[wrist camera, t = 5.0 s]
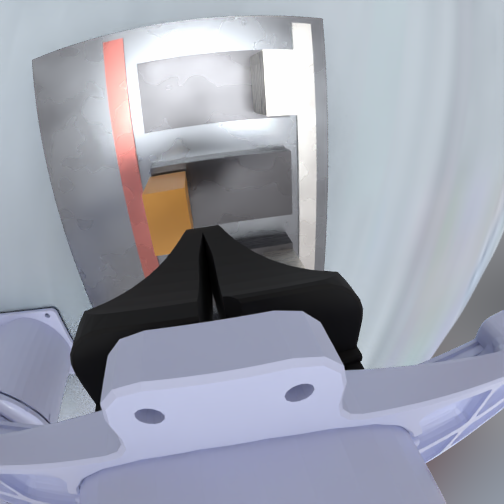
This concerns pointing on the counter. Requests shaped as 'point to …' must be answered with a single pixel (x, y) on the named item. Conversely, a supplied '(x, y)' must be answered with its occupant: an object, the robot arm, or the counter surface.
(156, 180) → the orange block
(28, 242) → the counter surface
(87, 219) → the panel
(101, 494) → the robot arm
